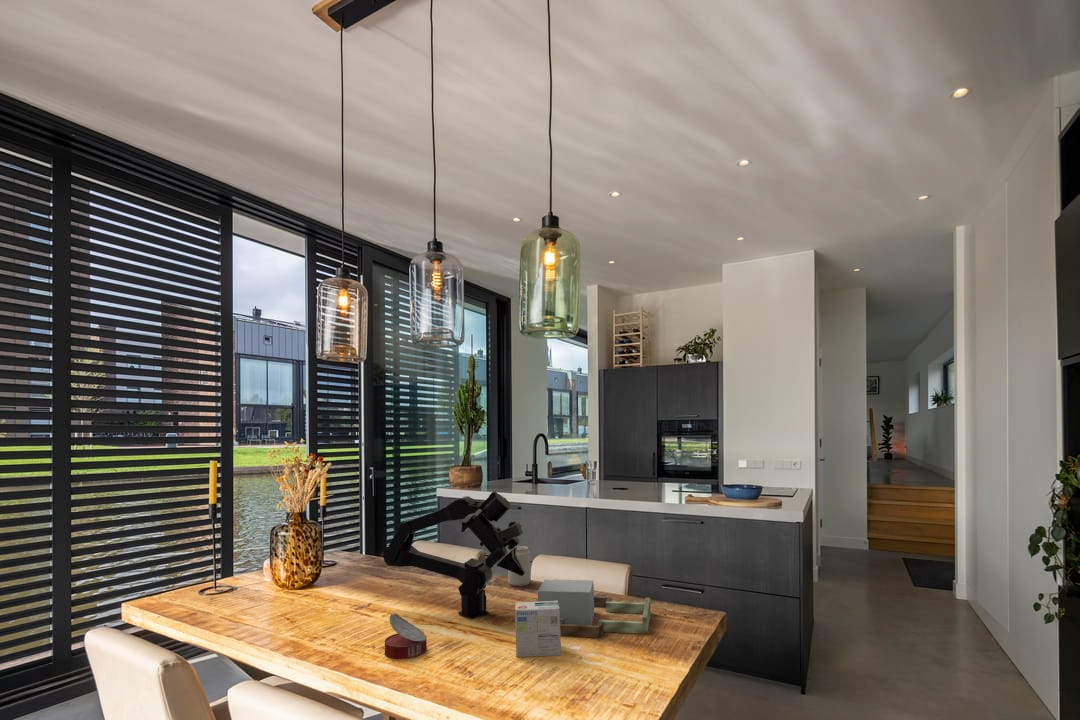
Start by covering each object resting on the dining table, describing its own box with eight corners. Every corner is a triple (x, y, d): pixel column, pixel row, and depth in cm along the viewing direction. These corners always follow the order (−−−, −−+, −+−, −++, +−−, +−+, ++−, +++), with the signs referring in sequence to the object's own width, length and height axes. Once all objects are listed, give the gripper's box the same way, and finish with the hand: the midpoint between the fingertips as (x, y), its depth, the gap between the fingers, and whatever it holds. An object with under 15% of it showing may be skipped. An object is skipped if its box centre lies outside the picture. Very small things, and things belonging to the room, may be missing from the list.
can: (530, 586, 200) (529, 549, 201) (507, 587, 200) (507, 549, 201) (531, 580, 207) (530, 544, 208) (509, 581, 207) (508, 545, 209)
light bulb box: (560, 645, 147) (558, 599, 148) (561, 656, 140) (560, 608, 141) (515, 647, 147) (515, 601, 148) (515, 658, 140) (514, 609, 141)
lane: (527, 633, 155) (527, 617, 156) (548, 603, 181) (548, 589, 182) (646, 640, 149) (646, 623, 149) (651, 607, 175) (650, 593, 175)
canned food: (403, 664, 150) (416, 621, 155) (429, 669, 144) (442, 624, 149) (367, 653, 143) (381, 609, 148) (393, 658, 137) (407, 612, 142)
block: (538, 626, 162) (537, 591, 163) (545, 612, 174) (544, 579, 174) (591, 627, 160) (589, 592, 160) (594, 613, 171) (593, 580, 172)
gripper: (496, 518, 164) (536, 562, 161) (513, 508, 182) (549, 548, 179) (468, 546, 165) (507, 591, 161) (488, 534, 183) (523, 574, 180)
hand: (523, 574), depth 170 cm, fingers closed
